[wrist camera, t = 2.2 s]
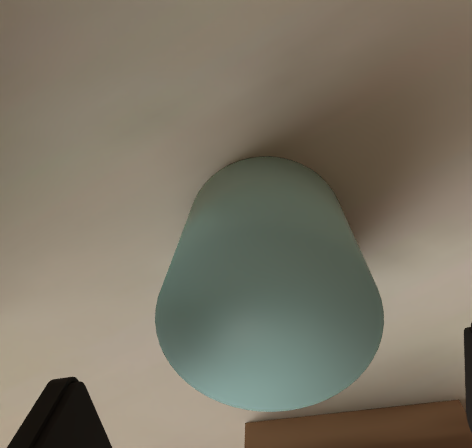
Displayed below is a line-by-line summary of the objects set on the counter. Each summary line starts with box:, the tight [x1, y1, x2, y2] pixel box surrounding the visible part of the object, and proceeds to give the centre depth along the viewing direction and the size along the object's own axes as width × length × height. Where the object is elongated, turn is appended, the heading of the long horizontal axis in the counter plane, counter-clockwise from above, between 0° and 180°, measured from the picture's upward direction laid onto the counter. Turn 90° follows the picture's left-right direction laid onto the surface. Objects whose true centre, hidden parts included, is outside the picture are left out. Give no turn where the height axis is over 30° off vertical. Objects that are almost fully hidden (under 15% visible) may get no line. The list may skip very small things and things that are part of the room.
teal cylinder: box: [155, 157, 384, 412], centre depth 14 cm, size 6×6×6 cm
